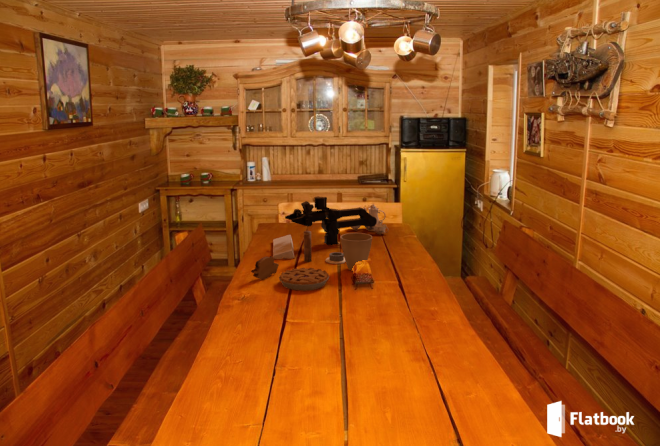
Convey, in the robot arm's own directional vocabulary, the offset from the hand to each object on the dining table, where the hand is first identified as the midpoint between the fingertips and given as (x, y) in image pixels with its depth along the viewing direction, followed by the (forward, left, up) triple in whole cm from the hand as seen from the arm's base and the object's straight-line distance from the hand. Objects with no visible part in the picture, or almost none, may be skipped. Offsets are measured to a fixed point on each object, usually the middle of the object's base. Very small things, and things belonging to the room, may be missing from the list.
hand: (288, 219), depth 298 cm
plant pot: (-15, +48, -17) cm, 53 cm away
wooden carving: (+28, +41, -17) cm, 52 cm away
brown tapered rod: (0, +25, -17) cm, 30 cm away
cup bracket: (-13, +31, -17) cm, 38 cm away
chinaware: (-60, -18, -17) cm, 65 cm away
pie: (+15, +56, -17) cm, 60 cm away
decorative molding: (+3, 0, -17) cm, 18 cm away
